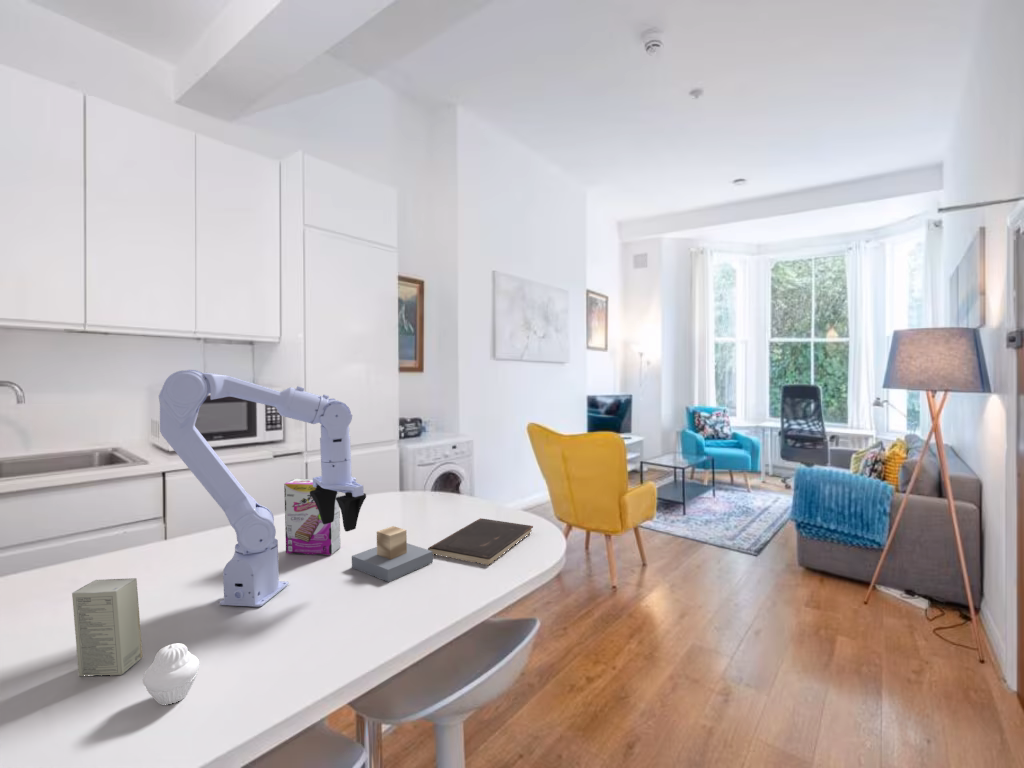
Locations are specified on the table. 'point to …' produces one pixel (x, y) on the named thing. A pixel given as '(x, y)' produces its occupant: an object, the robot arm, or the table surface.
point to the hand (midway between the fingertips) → (338, 526)
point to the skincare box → (107, 626)
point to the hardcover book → (481, 540)
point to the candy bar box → (308, 522)
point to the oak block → (391, 542)
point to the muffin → (171, 674)
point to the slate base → (392, 562)
